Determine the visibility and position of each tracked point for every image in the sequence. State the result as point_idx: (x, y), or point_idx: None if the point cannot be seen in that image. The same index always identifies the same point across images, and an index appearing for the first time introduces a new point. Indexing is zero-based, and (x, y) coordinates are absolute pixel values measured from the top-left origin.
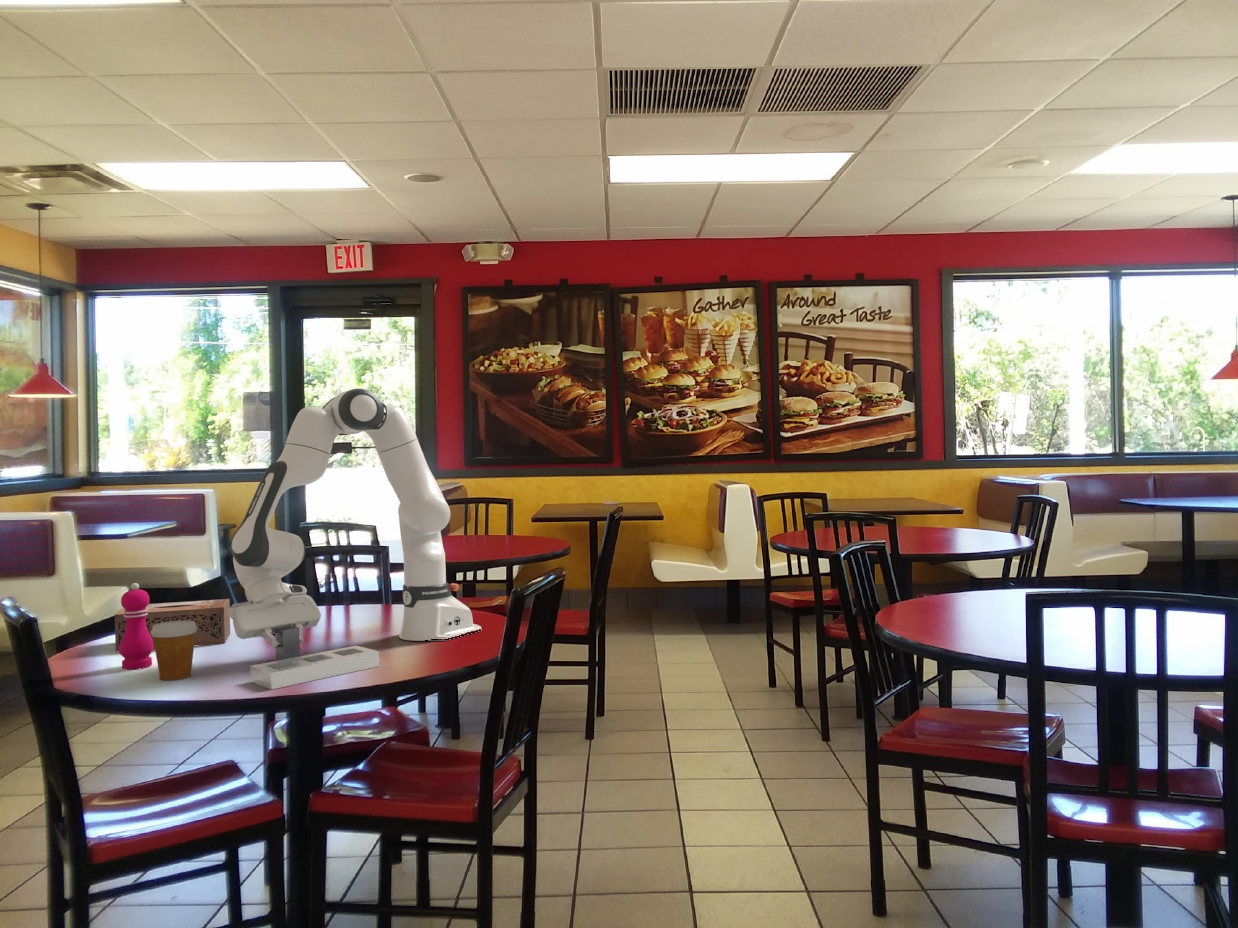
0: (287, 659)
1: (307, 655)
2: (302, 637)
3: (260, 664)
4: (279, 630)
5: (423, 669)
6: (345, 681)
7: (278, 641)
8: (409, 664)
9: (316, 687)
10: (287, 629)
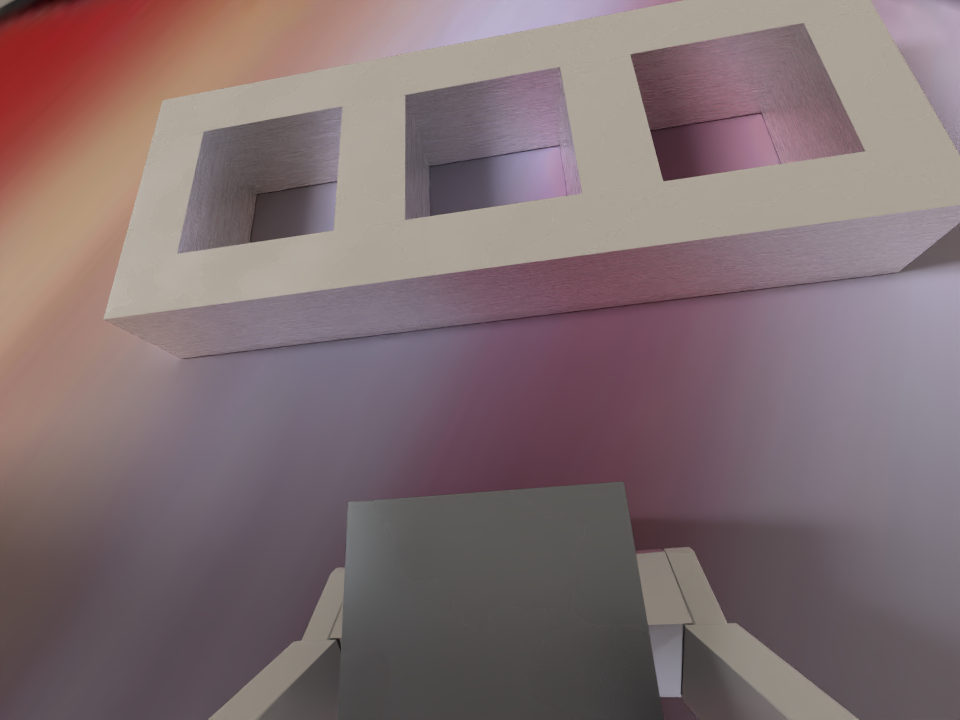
0: (656, 226)
1: (490, 250)
2: (329, 582)
3: (890, 198)
4: (647, 622)
5: (171, 32)
6: (469, 26)
7: (649, 568)
8: (134, 121)
9: (605, 5)
10: (507, 584)
